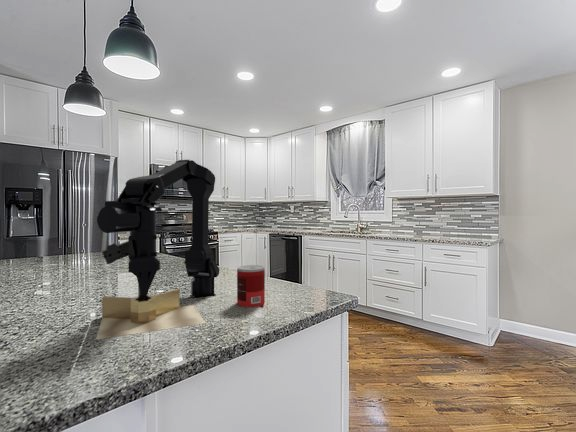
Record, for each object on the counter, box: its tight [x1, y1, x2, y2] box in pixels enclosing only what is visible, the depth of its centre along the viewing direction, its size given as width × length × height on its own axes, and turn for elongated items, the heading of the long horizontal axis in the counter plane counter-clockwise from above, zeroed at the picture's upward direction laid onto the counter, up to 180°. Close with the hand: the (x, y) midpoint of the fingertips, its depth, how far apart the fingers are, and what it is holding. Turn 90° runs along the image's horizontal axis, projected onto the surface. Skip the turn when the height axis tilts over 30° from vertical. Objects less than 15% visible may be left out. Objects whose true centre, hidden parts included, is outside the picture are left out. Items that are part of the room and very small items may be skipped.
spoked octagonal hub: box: [101, 288, 180, 324], centre depth 78 cm, size 18×9×5 cm, turn 116°
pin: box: [137, 285, 149, 301], centre depth 76 cm, size 2×2×8 cm
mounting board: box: [95, 304, 207, 341], centre depth 76 cm, size 22×16×1 cm
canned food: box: [236, 264, 266, 308], centre depth 90 cm, size 8×8×11 cm
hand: (143, 295), depth 76 cm, fingers closed on pin, 2 cm apart
